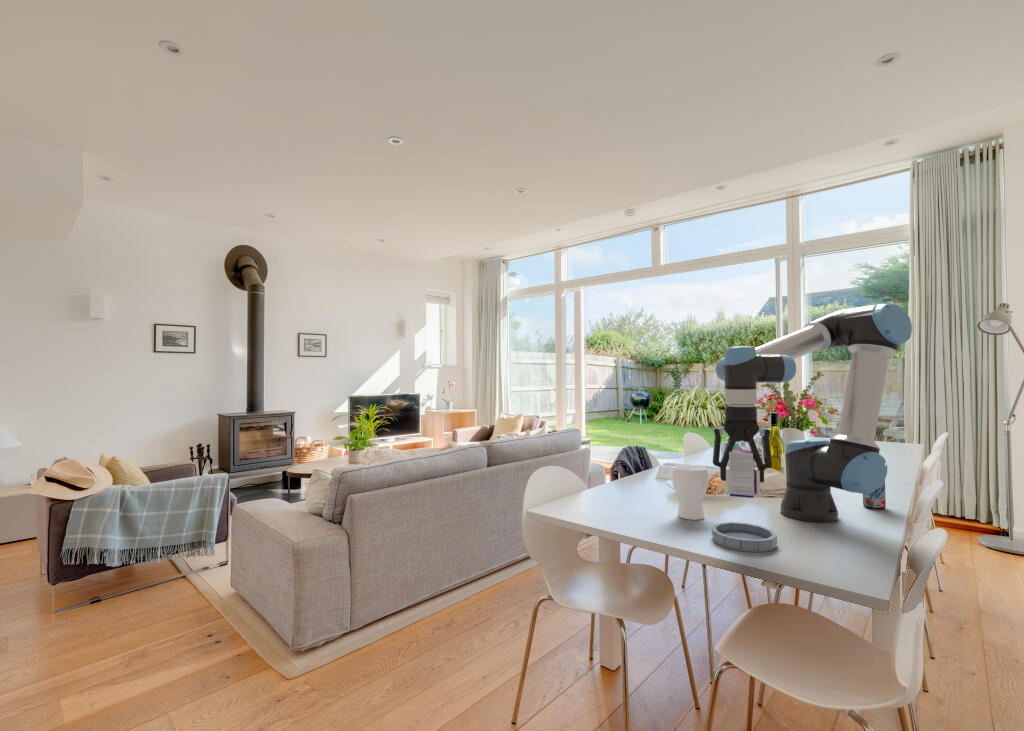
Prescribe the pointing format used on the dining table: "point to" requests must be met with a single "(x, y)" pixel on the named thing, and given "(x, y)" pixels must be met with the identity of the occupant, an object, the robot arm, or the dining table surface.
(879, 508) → the beverage can
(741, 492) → the supplement box
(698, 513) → the cup
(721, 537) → the dish
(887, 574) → the dining table surface
